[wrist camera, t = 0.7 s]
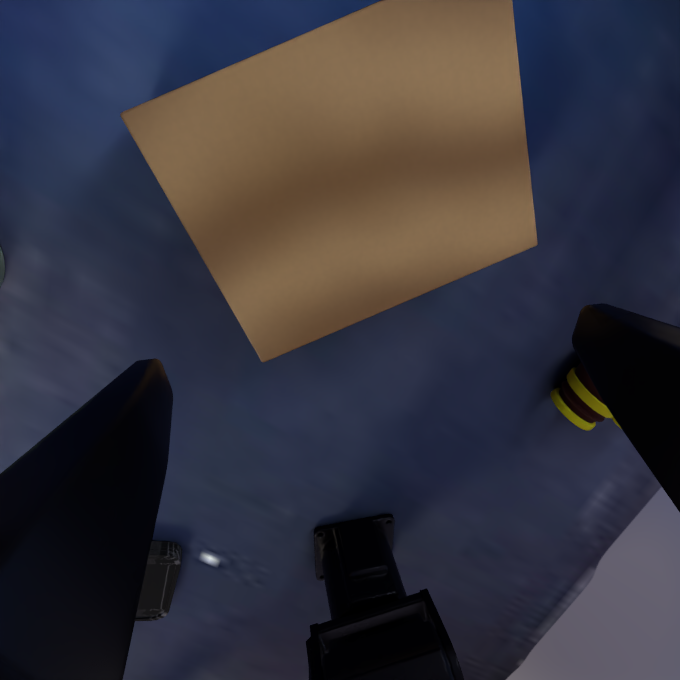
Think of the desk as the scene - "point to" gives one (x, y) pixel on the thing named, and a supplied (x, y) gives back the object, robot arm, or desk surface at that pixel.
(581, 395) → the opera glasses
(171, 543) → the phone
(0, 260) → the pen cup
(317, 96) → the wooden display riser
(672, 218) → the desk surface
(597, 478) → the desk surface
